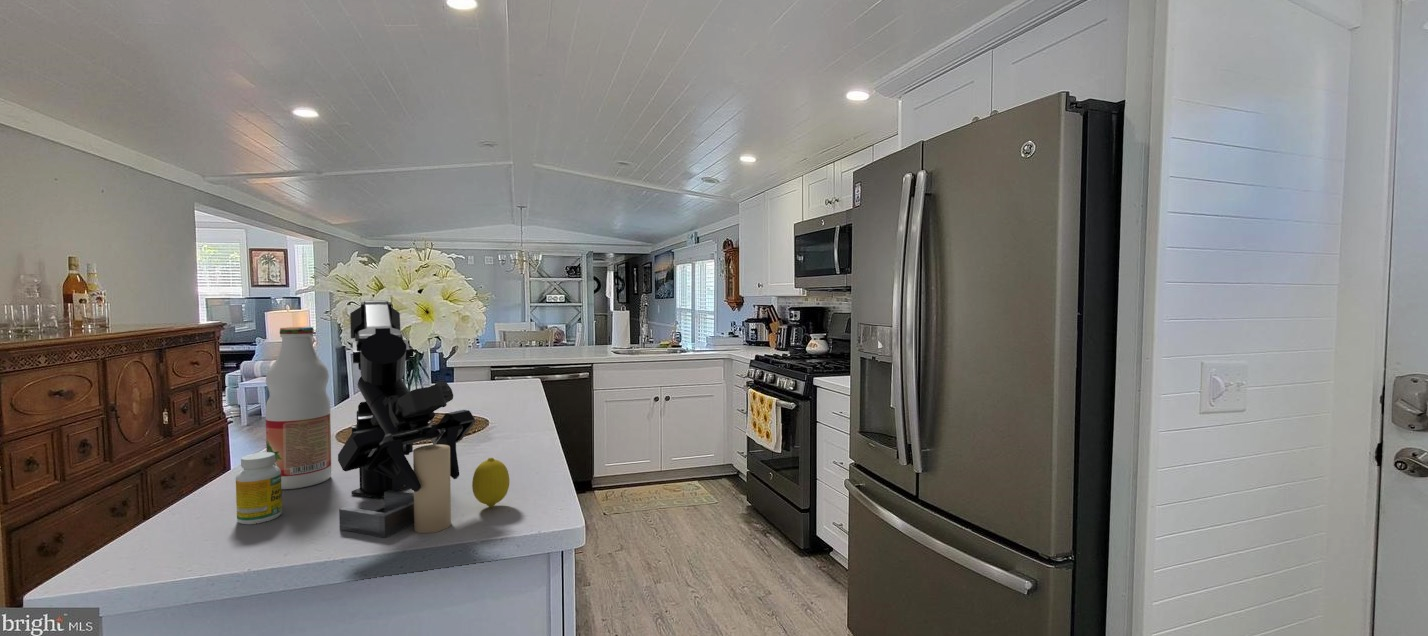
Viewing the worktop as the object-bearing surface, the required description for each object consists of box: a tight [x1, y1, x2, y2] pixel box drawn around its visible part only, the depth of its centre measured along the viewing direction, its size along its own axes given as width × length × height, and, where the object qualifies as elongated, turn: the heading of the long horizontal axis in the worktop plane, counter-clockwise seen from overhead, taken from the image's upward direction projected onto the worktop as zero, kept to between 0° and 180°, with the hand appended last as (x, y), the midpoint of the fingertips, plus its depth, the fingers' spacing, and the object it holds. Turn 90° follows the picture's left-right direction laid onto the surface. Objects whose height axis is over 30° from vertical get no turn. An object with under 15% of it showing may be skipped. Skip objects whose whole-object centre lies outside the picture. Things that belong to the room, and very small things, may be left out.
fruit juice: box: [264, 326, 332, 490], centre depth 102 cm, size 9×9×28 cm
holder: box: [338, 490, 414, 539], centre depth 84 cm, size 8×8×3 cm
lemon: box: [471, 457, 510, 508], centre depth 90 cm, size 6×6×8 cm
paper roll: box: [412, 444, 452, 534], centre depth 83 cm, size 5×5×12 cm
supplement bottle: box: [235, 451, 283, 525], centre depth 85 cm, size 5×5×10 cm
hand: (438, 483), depth 82 cm, fingers open, 6 cm apart
